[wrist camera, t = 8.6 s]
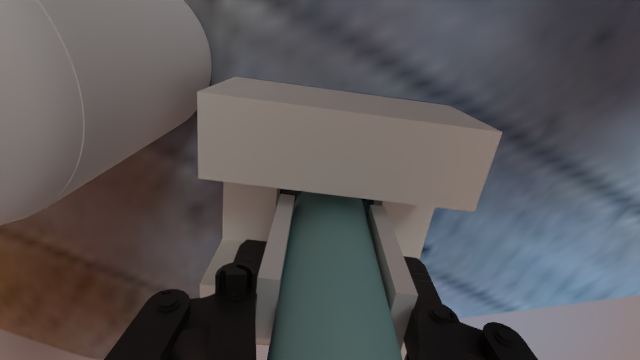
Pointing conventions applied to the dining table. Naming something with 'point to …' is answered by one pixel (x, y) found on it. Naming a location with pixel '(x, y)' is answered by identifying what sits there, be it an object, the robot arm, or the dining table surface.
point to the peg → (331, 287)
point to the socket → (335, 157)
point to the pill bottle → (89, 90)
